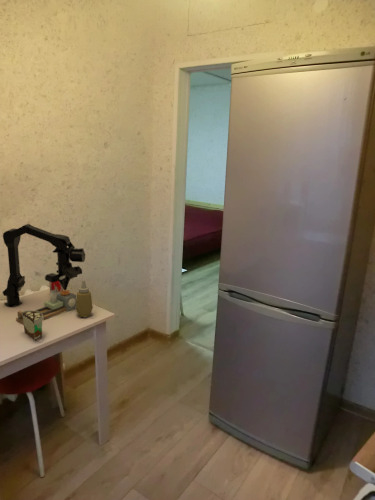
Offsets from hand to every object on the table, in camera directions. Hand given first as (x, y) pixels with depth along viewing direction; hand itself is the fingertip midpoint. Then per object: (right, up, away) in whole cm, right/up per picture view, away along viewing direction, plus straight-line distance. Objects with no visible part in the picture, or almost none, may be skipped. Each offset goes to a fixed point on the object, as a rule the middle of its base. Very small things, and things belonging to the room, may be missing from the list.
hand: (65, 289), depth 178 cm
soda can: (-11, -5, +17) cm, 21 cm away
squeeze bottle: (+12, -12, -6) cm, 18 cm away
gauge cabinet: (-1, -9, +2) cm, 9 cm away
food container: (-3, -17, -26) cm, 32 cm away
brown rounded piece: (0, -5, +1) cm, 5 cm away
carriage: (-4, -8, -4) cm, 10 cm away
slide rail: (-8, -12, -9) cm, 17 cm away
